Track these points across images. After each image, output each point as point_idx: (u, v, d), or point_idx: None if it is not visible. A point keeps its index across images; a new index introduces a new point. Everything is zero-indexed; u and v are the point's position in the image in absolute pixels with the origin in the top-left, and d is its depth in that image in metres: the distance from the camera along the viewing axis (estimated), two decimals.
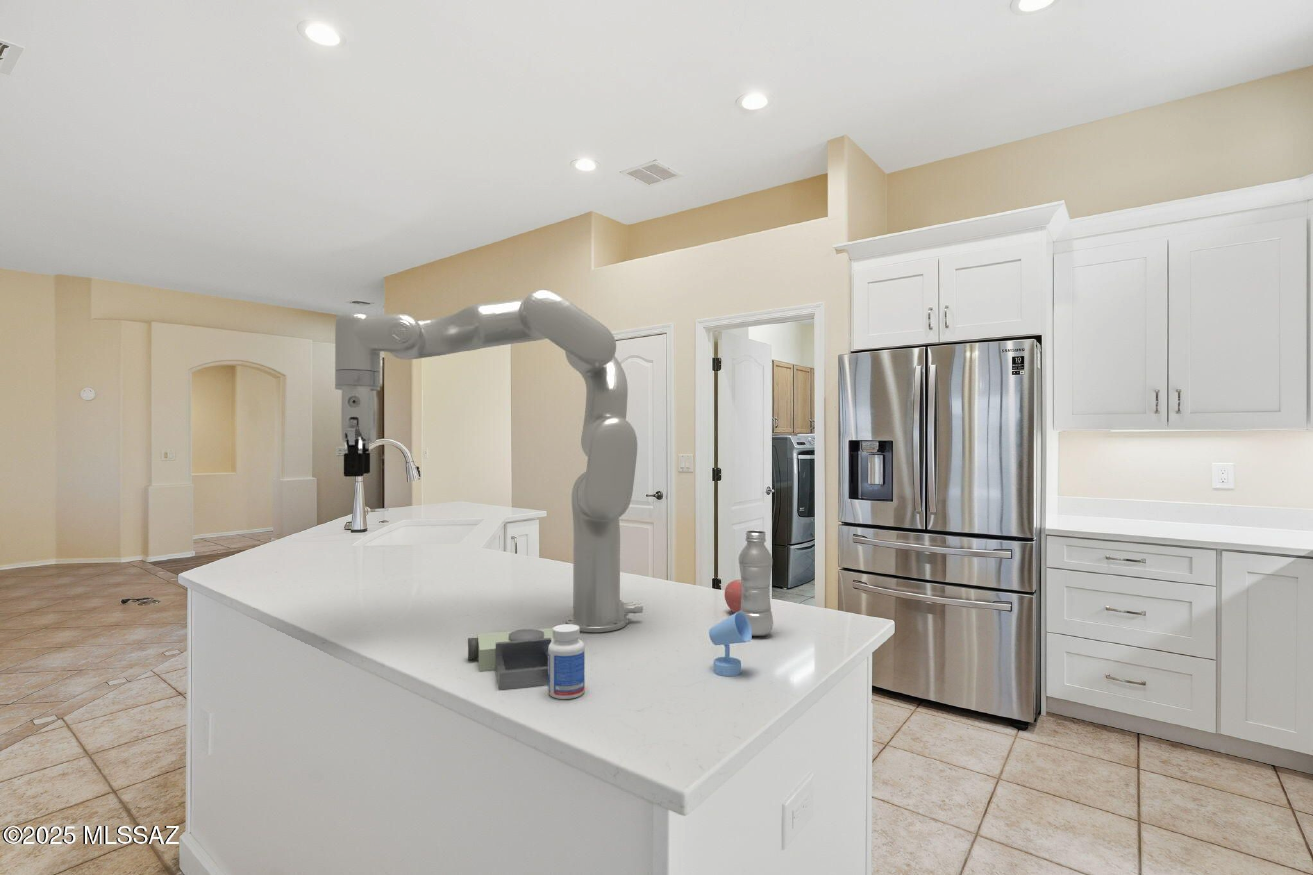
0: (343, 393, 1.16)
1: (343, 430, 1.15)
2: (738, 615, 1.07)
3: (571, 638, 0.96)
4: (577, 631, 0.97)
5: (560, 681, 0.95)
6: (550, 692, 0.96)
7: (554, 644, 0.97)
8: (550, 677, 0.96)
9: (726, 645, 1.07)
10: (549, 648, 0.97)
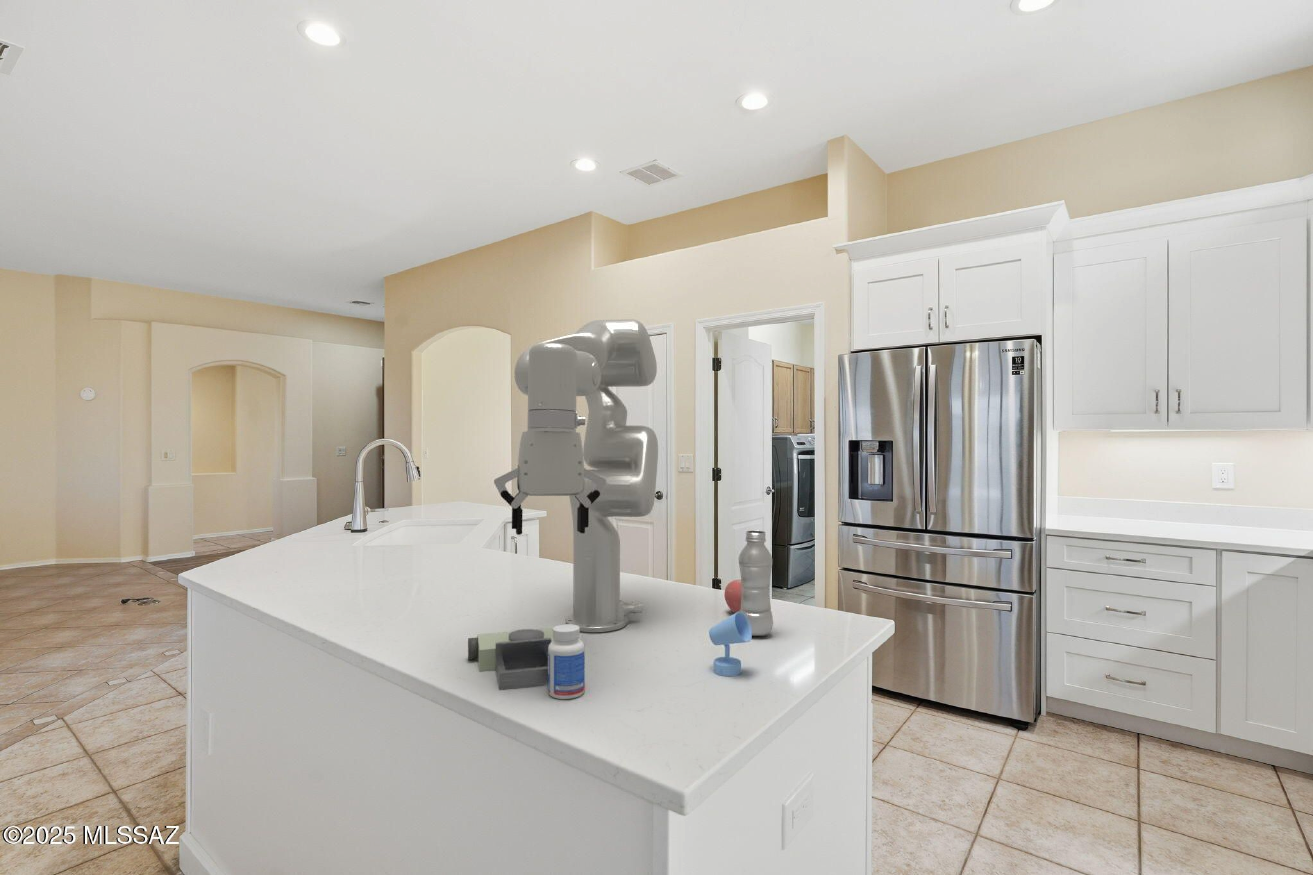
0: (579, 439, 1.02)
1: (584, 481, 1.02)
2: (738, 615, 1.07)
3: (571, 638, 0.96)
4: (577, 631, 0.97)
5: (560, 681, 0.95)
6: (550, 692, 0.96)
7: (554, 644, 0.97)
8: (550, 677, 0.96)
9: (726, 645, 1.07)
10: (549, 648, 0.97)
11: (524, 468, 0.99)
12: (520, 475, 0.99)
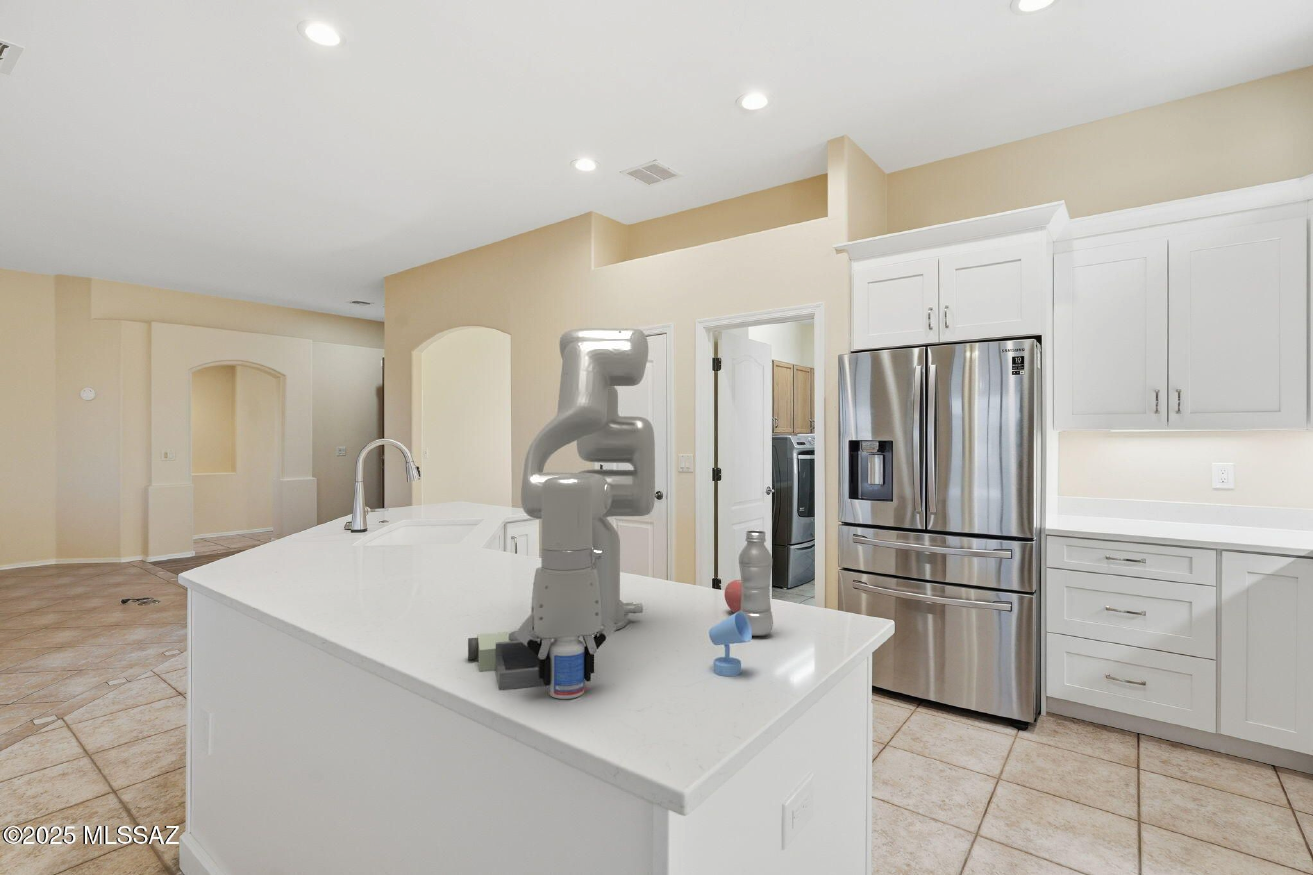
0: (596, 576, 0.97)
1: (601, 619, 0.98)
2: (738, 615, 1.07)
3: (572, 638, 0.96)
4: None
5: (560, 681, 0.95)
6: (550, 692, 0.96)
7: (554, 644, 0.97)
8: (550, 677, 0.96)
9: (726, 645, 1.07)
10: (549, 648, 0.97)
11: (539, 612, 0.95)
12: (535, 619, 0.95)
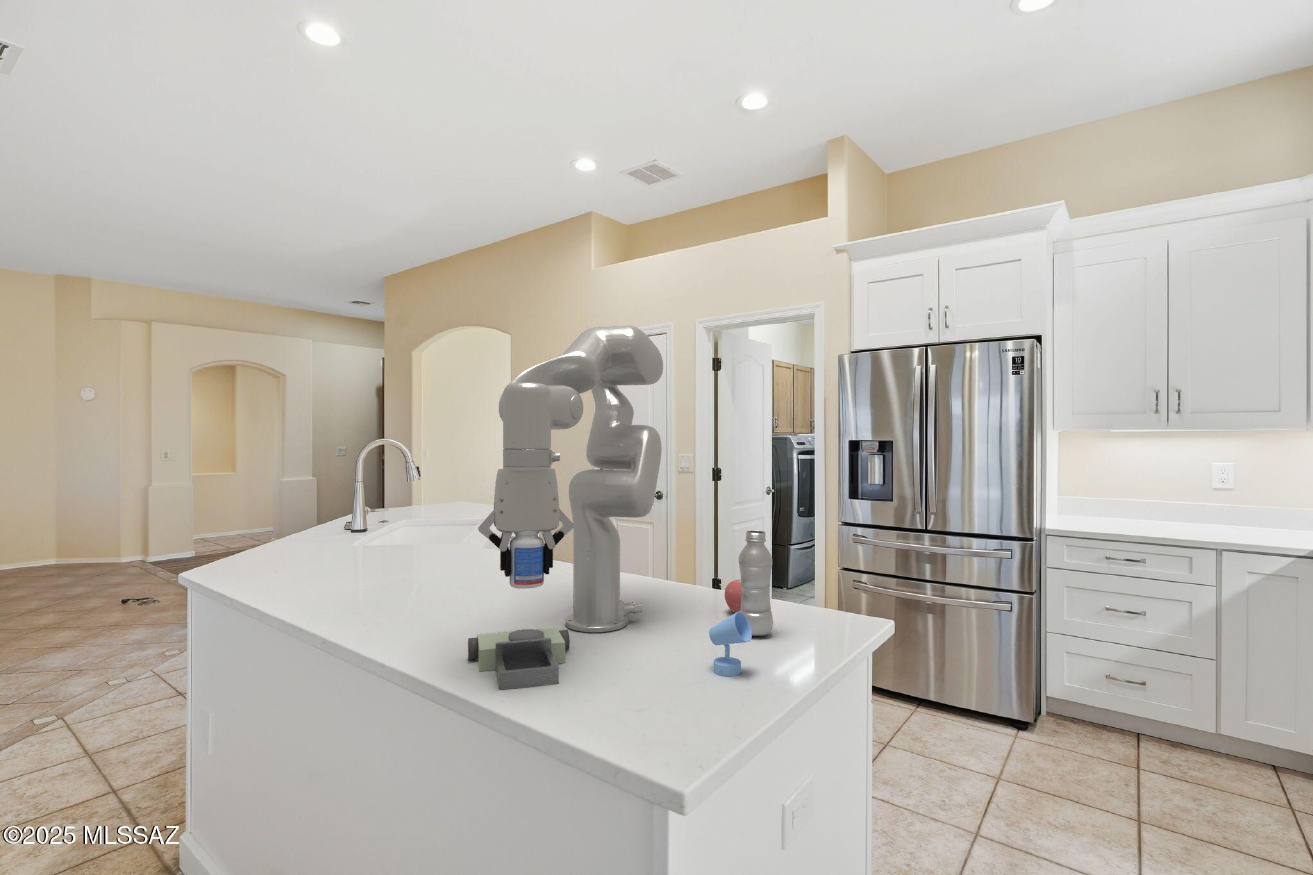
0: (554, 475, 1.04)
1: (559, 517, 1.04)
2: (738, 615, 1.07)
3: (531, 532, 1.03)
4: None
5: (520, 571, 1.02)
6: (511, 583, 1.03)
7: (515, 538, 1.03)
8: (511, 569, 1.03)
9: (726, 645, 1.07)
10: (510, 542, 1.03)
11: (500, 506, 1.01)
12: (496, 513, 1.02)
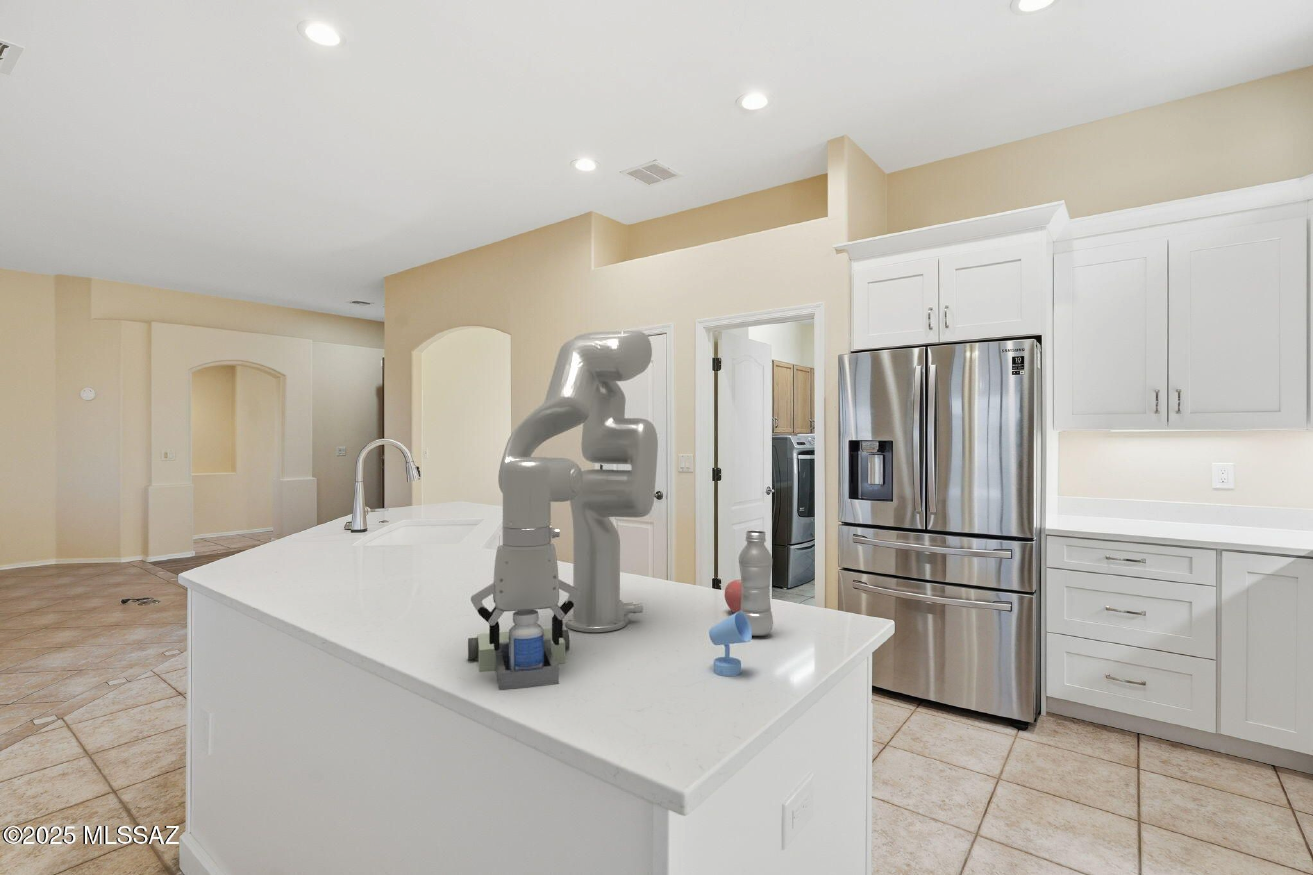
0: (553, 553, 1.04)
1: (558, 594, 1.04)
2: (738, 615, 1.07)
3: (530, 622, 1.03)
4: (536, 615, 1.04)
5: (520, 662, 1.02)
6: None
7: (514, 628, 1.03)
8: (510, 659, 1.03)
9: (726, 645, 1.07)
10: (509, 631, 1.03)
11: (499, 586, 1.01)
12: (495, 592, 1.02)
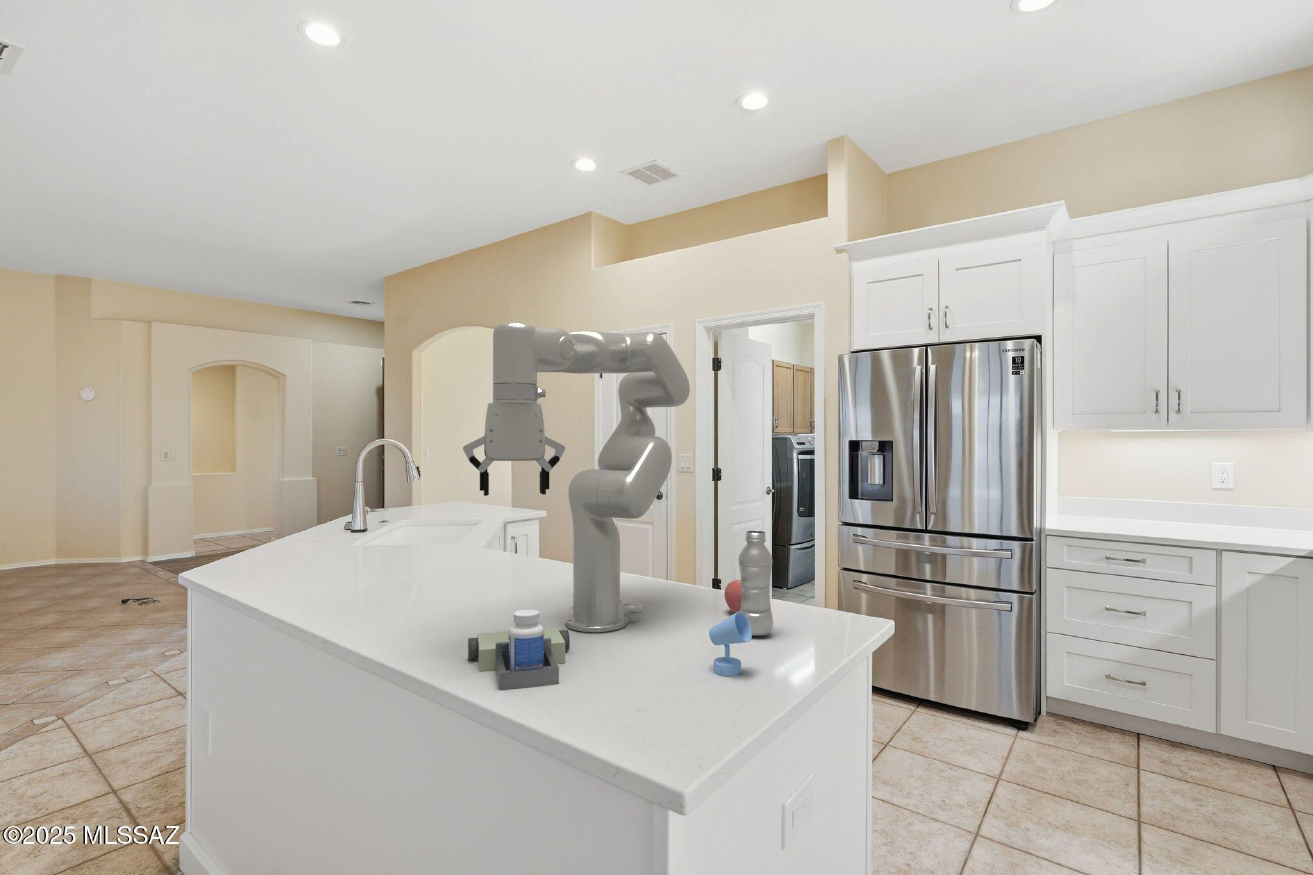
0: (540, 409, 1.13)
1: (544, 447, 1.13)
2: (738, 615, 1.07)
3: (531, 622, 1.03)
4: (536, 615, 1.04)
5: (520, 662, 1.02)
6: None
7: (515, 628, 1.04)
8: (511, 658, 1.03)
9: (726, 645, 1.07)
10: (510, 631, 1.04)
11: (490, 436, 1.10)
12: (486, 442, 1.10)
